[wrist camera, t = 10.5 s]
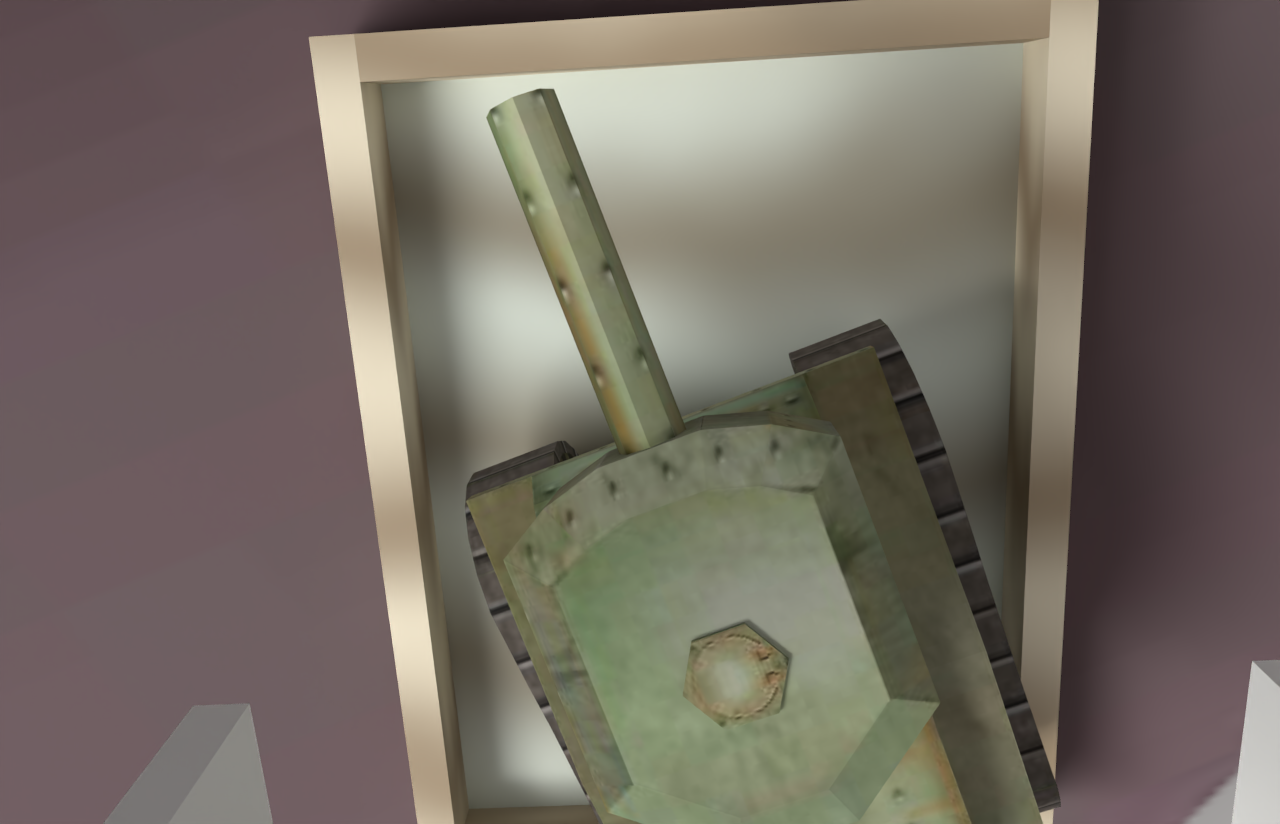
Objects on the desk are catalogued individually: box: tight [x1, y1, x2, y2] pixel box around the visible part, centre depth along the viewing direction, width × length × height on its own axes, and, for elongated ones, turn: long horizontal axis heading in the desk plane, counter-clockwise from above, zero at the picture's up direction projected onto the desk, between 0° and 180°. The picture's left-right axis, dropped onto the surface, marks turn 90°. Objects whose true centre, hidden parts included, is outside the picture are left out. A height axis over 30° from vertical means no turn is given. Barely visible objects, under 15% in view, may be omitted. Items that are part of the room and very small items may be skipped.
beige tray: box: [309, 0, 1099, 824], centre depth 26 cm, size 22×17×2 cm
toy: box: [465, 88, 1061, 824], centre depth 22 cm, size 10×18×10 cm, turn 22°
